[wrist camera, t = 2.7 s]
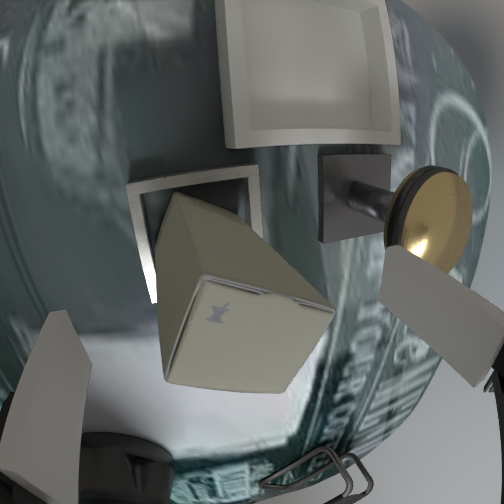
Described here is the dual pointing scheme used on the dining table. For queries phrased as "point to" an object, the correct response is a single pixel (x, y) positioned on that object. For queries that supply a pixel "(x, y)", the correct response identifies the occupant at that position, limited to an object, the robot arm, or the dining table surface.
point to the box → (230, 303)
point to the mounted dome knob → (395, 206)
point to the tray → (307, 72)
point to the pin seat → (137, 187)
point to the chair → (342, 501)
